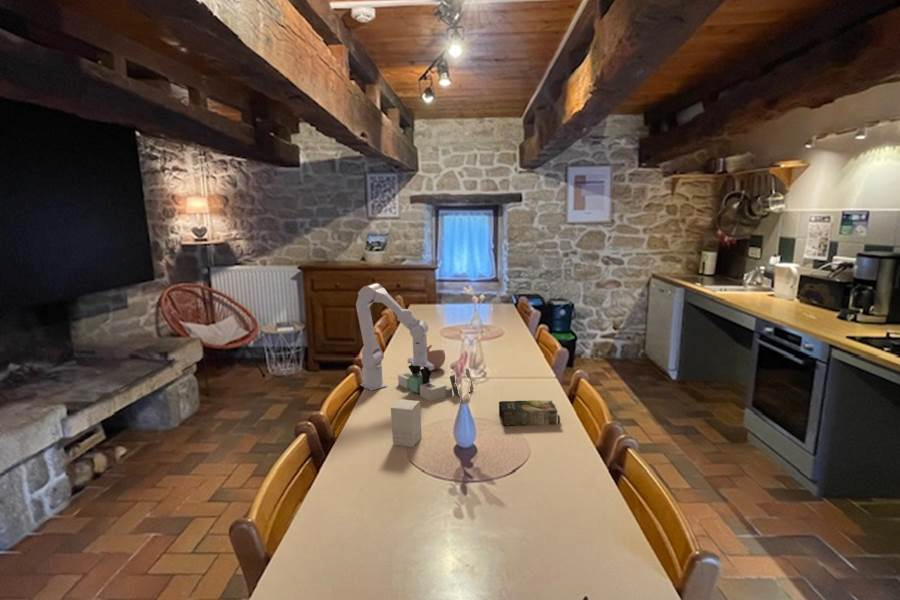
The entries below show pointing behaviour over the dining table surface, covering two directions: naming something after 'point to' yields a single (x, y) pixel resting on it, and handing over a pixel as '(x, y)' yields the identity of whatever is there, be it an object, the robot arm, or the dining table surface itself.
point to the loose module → (416, 382)
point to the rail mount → (427, 387)
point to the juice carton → (528, 412)
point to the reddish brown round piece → (435, 357)
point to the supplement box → (406, 422)
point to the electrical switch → (455, 384)
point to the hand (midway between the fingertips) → (421, 382)
